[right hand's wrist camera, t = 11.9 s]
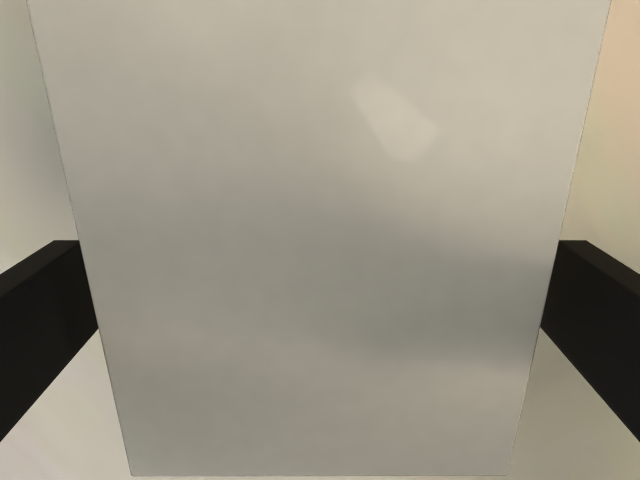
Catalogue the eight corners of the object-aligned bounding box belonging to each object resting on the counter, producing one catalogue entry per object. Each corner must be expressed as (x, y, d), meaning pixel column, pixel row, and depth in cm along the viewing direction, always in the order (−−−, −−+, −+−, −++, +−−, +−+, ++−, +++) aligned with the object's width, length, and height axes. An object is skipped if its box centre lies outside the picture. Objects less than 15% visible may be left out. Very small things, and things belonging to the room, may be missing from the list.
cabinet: (169, -172, 15) (-116, -622, 5) (468, -172, 15) (750, -621, 5) (215, 290, 21) (130, 477, 12) (422, 290, 21) (508, 477, 12)
